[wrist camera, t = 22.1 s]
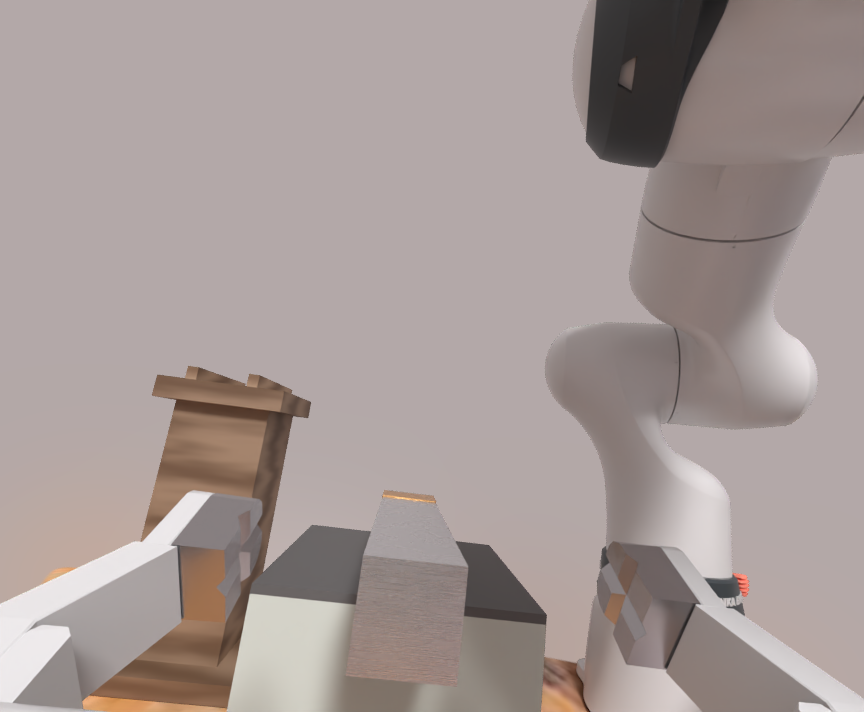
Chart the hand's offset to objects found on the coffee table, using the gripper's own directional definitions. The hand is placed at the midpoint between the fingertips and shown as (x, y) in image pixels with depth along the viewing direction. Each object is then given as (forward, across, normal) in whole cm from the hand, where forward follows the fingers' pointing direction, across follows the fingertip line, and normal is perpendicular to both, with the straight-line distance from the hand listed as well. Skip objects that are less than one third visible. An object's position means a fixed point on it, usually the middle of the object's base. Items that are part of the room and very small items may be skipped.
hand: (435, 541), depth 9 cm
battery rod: (+11, 0, +14) cm, 18 cm away
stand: (+21, +19, +36) cm, 46 cm away
